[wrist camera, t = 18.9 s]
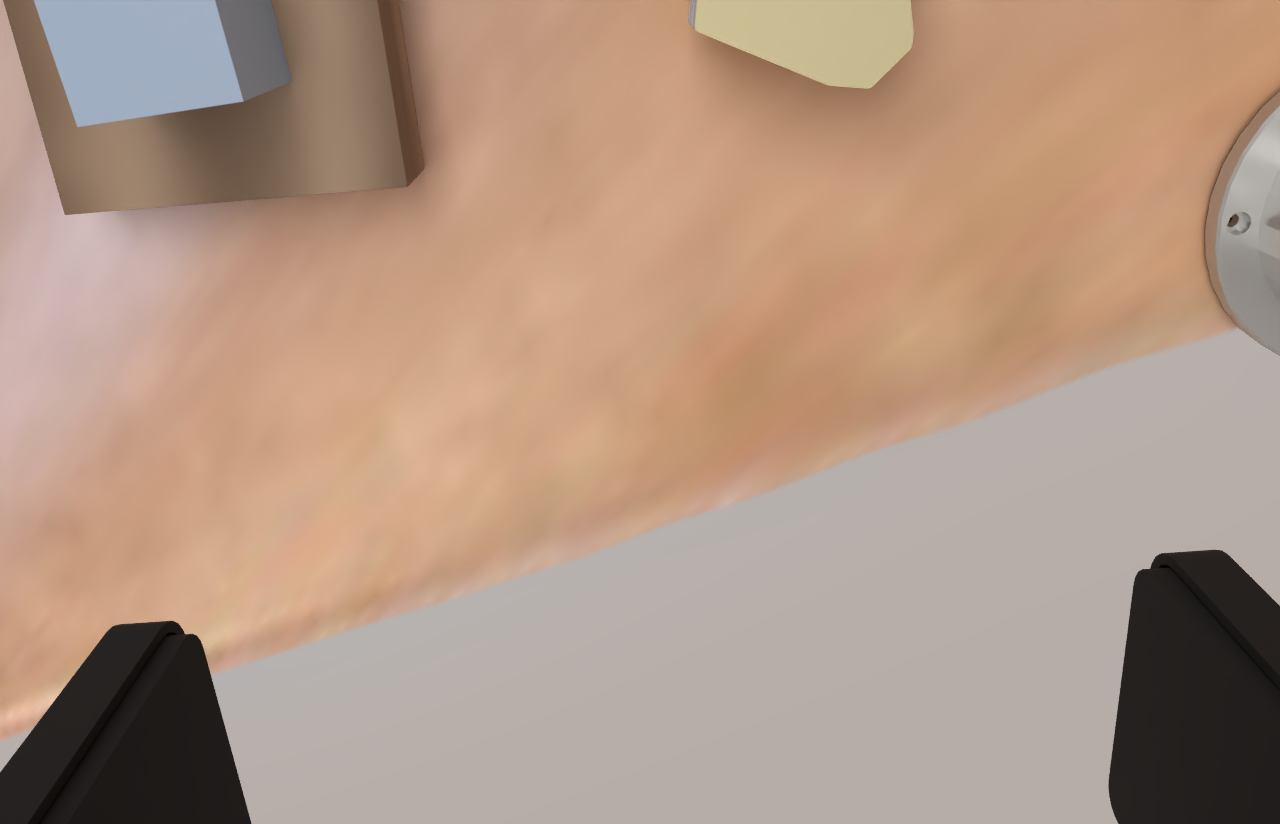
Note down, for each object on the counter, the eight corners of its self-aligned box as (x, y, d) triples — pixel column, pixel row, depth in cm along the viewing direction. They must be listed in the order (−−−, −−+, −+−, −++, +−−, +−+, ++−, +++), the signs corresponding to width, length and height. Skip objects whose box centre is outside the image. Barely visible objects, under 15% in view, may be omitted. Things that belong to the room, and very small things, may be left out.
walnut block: (371, -192, 36) (343, -209, 33) (426, 166, 41) (407, 186, 37) (20, -161, 37) (-47, -174, 33) (114, 191, 41) (64, 214, 38)
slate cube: (249, -82, 34) (190, -86, 29) (292, 81, 36) (243, 101, 31) (95, -58, 34) (13, -57, 30) (147, 103, 36) (77, 126, 32)
